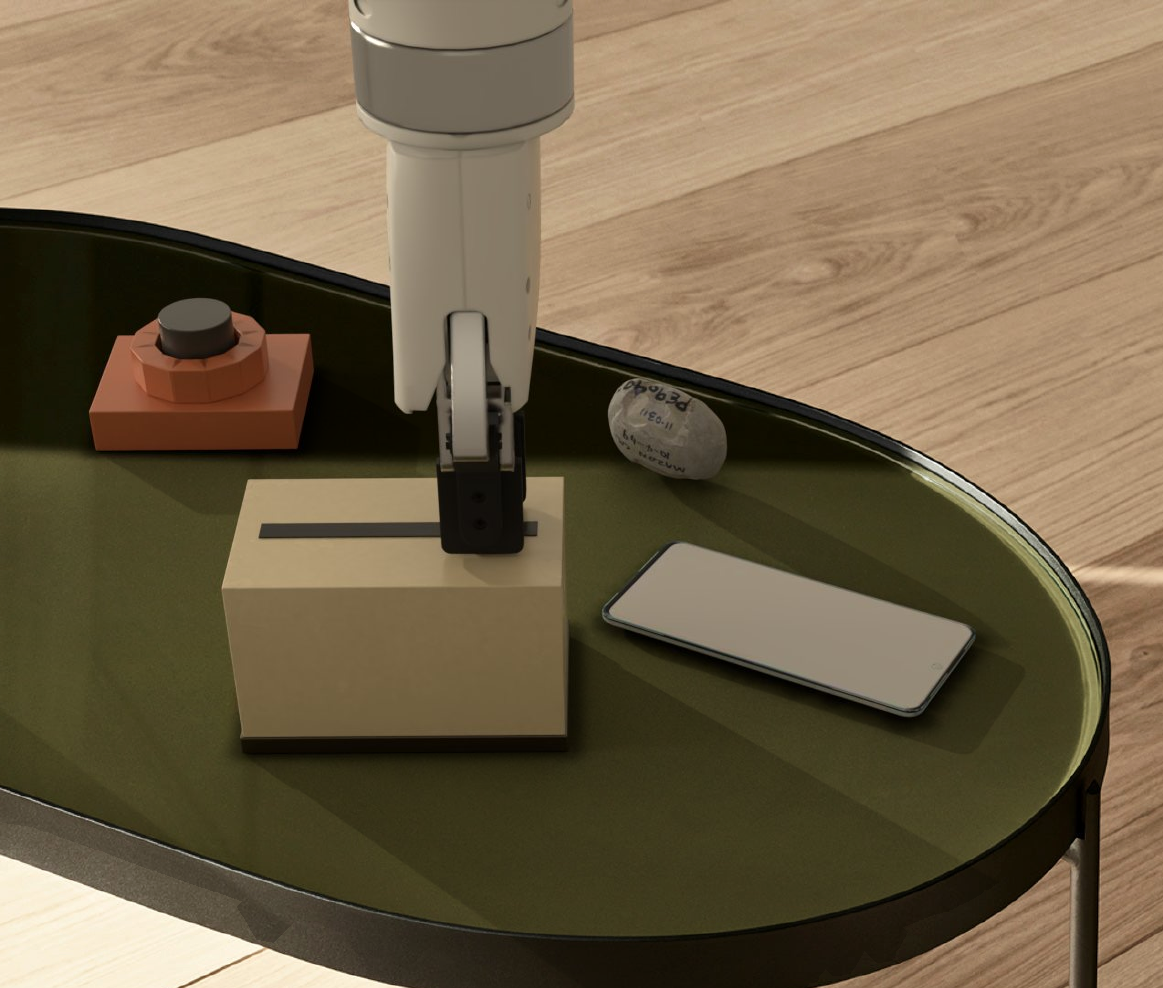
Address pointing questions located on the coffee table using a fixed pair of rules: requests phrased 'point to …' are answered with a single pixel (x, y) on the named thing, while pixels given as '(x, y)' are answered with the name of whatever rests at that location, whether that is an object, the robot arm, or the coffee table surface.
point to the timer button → (196, 329)
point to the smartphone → (792, 627)
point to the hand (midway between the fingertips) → (484, 521)
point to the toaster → (394, 623)
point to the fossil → (667, 430)
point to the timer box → (204, 393)
